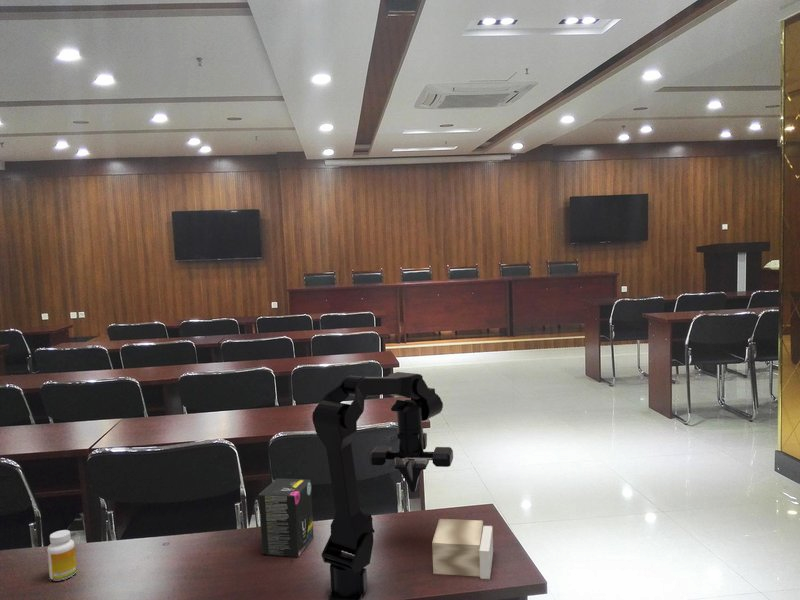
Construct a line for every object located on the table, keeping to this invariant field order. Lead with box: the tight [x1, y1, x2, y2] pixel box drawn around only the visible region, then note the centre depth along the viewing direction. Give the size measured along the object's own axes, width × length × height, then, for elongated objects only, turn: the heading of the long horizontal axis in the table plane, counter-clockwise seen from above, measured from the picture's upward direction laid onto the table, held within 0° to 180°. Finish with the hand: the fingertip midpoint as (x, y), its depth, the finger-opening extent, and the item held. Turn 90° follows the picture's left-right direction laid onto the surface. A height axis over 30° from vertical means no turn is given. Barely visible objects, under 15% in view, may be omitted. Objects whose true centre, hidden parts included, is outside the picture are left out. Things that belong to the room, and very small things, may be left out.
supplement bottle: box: [46, 529, 78, 579], centre depth 137 cm, size 5×5×10 cm
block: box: [431, 518, 484, 578], centre depth 137 cm, size 10×12×7 cm
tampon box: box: [258, 478, 315, 558], centre depth 147 cm, size 11×9×15 cm
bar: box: [479, 525, 494, 580], centre depth 135 cm, size 2×12×6 cm, turn 168°
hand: (413, 491), depth 145 cm, fingers closed
